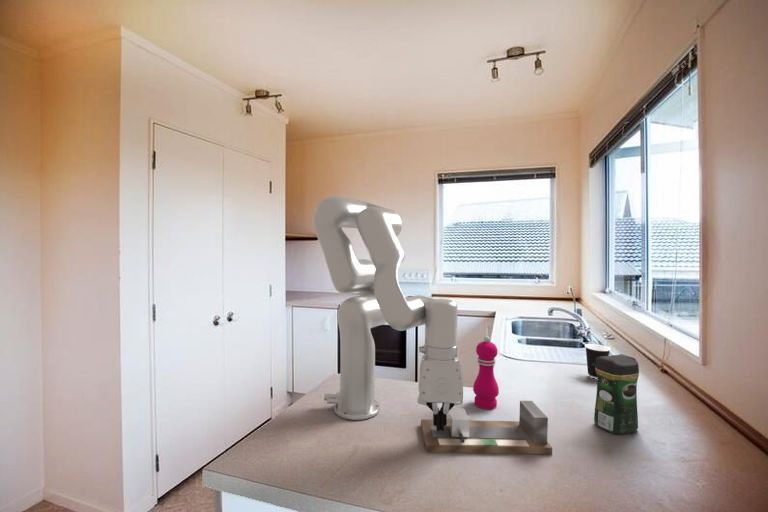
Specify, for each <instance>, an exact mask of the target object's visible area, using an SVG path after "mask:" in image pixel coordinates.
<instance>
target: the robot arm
mask: <svg viewBox="0 0 768 512" xmlns="http://www.w3.org/2000/svg"><path fill="white" fill-rule="evenodd" d="M402 227H403V222H402V219H401V216H400V215H399V214H398V213H397V212H396V211H395V210H393V209H390V208H386V207H384V206H380V205H376V204H373V203H370V202H368V201H364V200H360V199H355V198H349V197H344V196H338V195H337V196H328V197H325V198H323V199H321V200H320V201H319V202H318V203H317V206H316V207H315V210H314V214H313V229H314V232H315V235H316V237H317V239H318V242H319V244H320V247H321V249H322V252H323V255H324V259H325V262H326V266H327V269H328V272H329V277H330V279H331V282H332V284H333V287H334V288H335V290H336V291H337V292H338V293H340V294H354V293H359V295H357V296H356V295H355V296H352V297H349V298H347V299H345V300H344V301H342V302H341V303H340V304H339V306H338V308H337V313H336V317H337V324H338V329H339V330H338V331H339V338H340V371H339V373H340V375H339V376H340V377H339V378H340V382H339V387H340V389H339V392H335V393H327V392H326V393H324V397H323V400H324V401H325V402H327V403H326V404H330V405H332V404H334V407H333V408H334V409H333V410H334V413H335V414H336V415H337V416H338V417H340V418H343V419H346V420H350V421H351V420H352V421H359V420H367V419H370V418H373V417H374V416H377V414H379V412H380V408H381V407H380V402H378V401H377V400H375V387H376V385H375V384H376V383H375V381H376V379H375V378H376V375H375V373H376V370H375V369H376V368H375V367H376V344H375V340H374V337H373V335H372V331H371V329H373V328H376V327H378V326H382V325H384V324H388V325H389V326H390V327H391V328H392V329H394V330H395V331H399V332H401V331H402V332H403V331H404V332H405V331H406V330H410V329H413V328H416V327H420V326H424V344H423V345H422V346H418V353H421V354H423V355H422V356H421V361H420V367H419V374H418V396H417V400H416V401H417V403H418V405H422V406H427V408H429V409H430V410H431V411H432V413H433V414H432V420H433V425H434V426H436V429H437V431H439V430H440V429H441V430H442V431H444V426H446V425H447V419H448V411H449V410H450V409H452V408H455V407H457V406H461V405H463V404H464V383H463V381H464V380H463V368H462V367H463V366H462V361H461V358H460V357H459V356H457V355H458V350H457V349H458V304H457V303H456V301H455V300H452V299H446V298H432V297H429V296H425V295H421V294H419V295H412V296H411V295H410V296H406V297H405V295H404V293H403V291H402V289H401V286H400V283H399V279H398V270H399V267H400V265H401V264H402V262H403V261H404V259H405V257H406V255H405V252H404V249H403V247H402V245H401V243H400V241H399V239H398V236H399V235H400V234H401V232H402ZM342 228H345V229H346V228H348V229H357V231H358V233H359V235H360V237H361V239H362V241H363V242H362V243H363V244H364V246H365V248H366V250H367V253H368V254H369V255H368V256H369V257H370V259H371V260H369V259H361V258H358V257H357V255H356V252H355V250H354V246H353V243H352V241H351V239H350V238H349V237H348V235H347V234H346V233H345V232H344V230H343V229H342ZM438 404H441V407H440V408H439V407H438Z"/></svg>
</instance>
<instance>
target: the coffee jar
mask: <svg viewBox="0 0 768 512" xmlns="http://www.w3.org/2000/svg"><path fill="white" fill-rule="evenodd" d="M639 367H640V366H639V362H638V360H637V359H636V358H635V357H632V356H629V355H625V354H623V353H620V354H614V355H613V354H612V355H609V356H600V357H598V358H596V367H595V370H596V373H597V381H596V382H597V383H596V384H597V385H596V396H595V405H594V415H593V416H594V417H593V421H594V423H595V425H596V426H597V427H598V428H600V429H602V430H604V431H606V432H609V433H613V434H616V435H625V434H629V433H633V432H636V431H637V430H638V428H639V418H638V417H639V415H638V394H637V393H638V392H637V390H638V389H637V388H638V387H637V386H638V380H639V376H640V368H639Z"/></svg>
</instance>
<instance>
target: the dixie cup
mask: <svg viewBox="0 0 768 512" xmlns="http://www.w3.org/2000/svg"><path fill="white" fill-rule="evenodd" d="M584 347H585V355H586V364H587V365H586V366H587V374H588V377H589V376H590V377H592V378H596V379H597V373H596V370H595V367H596V358H598V357H600V356H610V351H611V347H609V346H607V345H606V346H605V345H601V344H597V343H596V344H595V343H594V344H593V343H590V344H588V343H587V344H585V345H584ZM590 377H589V378H590ZM592 378H591V379H592Z"/></svg>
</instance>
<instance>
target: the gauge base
mask: <svg viewBox="0 0 768 512" xmlns="http://www.w3.org/2000/svg"><path fill="white" fill-rule="evenodd" d="M518 417H519V421H518V420H517V421H515V420H514V421H513V420H512V421H511V420H473V419H471V420H470V419H469V437H463V438H464V443H462V442H461V440H460V437H452V436H451V433H450V430H449V427H448V424H447V425H446V426H444V431H442V430H441V429H440V430H439V431H437V429H436V426H434V425H433V419H421V420H420V427H421V432H422V438H423V442H424V448H425V453H460V452H461V453H469V454H512V453H513V455H514V454H516V455H517V454H521V455H553V447H552V445H551V444H550V443H549V441H548V426H549V423H548V422H549V417H548V416H547V415H546V414H545V413H544V412H543V411H542V410H541V409H540V408H539V407H538V406H537V404H536V403H534V401H533V400H519V416H518Z"/></svg>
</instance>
